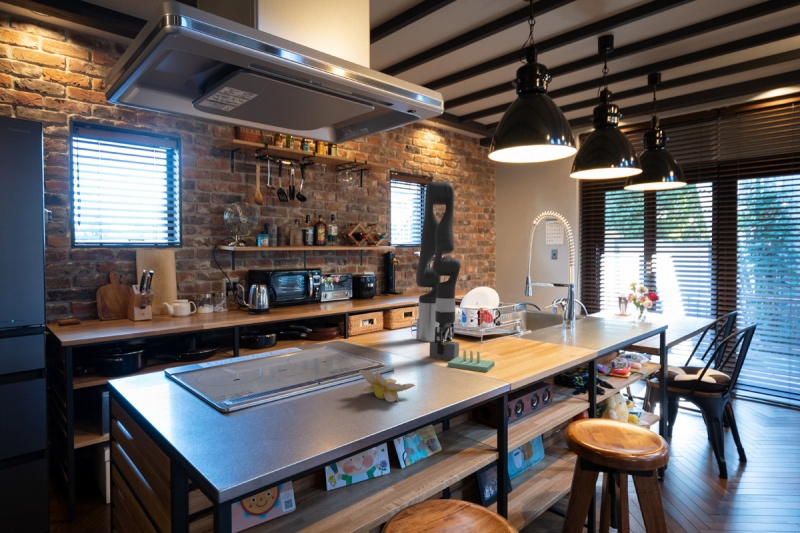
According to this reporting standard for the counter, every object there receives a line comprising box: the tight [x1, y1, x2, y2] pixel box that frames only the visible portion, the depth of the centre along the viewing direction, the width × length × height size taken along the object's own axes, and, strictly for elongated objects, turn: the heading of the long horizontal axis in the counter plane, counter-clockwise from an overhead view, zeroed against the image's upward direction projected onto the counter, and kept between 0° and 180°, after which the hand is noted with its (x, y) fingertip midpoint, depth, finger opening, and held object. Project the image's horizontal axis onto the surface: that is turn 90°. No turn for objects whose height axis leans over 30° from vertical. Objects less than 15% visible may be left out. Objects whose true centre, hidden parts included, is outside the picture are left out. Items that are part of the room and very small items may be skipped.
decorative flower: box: [358, 369, 416, 403], centre depth 123 cm, size 15×11×10 cm
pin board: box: [447, 349, 495, 373], centre depth 159 cm, size 14×10×6 cm
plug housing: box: [429, 340, 460, 361], centre depth 171 cm, size 10×5×6 cm, turn 63°
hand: (444, 352), depth 171 cm, fingers open, 8 cm apart
